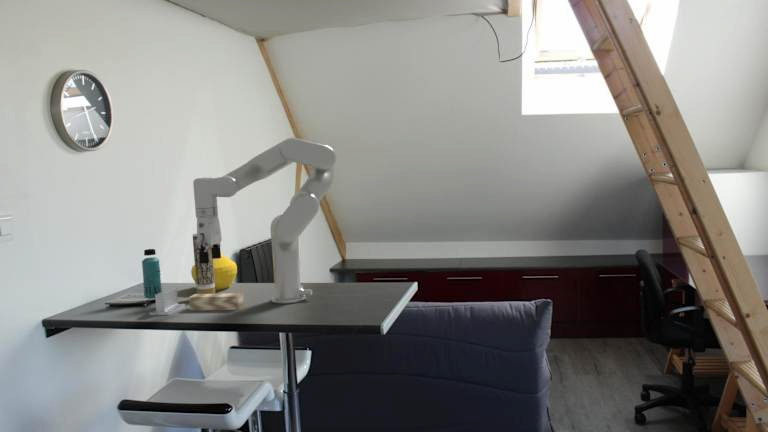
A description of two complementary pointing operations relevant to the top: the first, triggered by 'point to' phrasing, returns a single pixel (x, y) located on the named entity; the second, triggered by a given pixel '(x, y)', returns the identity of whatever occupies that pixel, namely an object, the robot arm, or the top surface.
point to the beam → (216, 301)
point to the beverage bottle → (151, 275)
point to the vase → (221, 272)
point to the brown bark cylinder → (204, 271)
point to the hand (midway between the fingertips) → (210, 260)
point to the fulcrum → (167, 302)
